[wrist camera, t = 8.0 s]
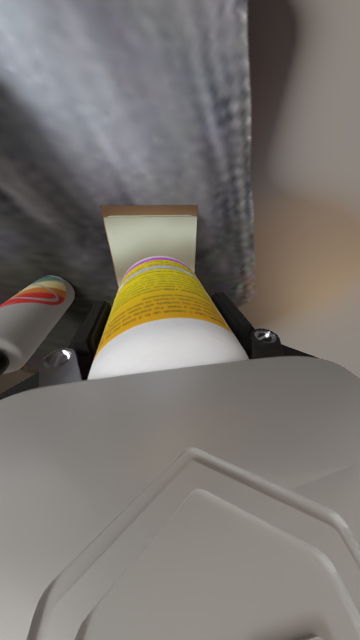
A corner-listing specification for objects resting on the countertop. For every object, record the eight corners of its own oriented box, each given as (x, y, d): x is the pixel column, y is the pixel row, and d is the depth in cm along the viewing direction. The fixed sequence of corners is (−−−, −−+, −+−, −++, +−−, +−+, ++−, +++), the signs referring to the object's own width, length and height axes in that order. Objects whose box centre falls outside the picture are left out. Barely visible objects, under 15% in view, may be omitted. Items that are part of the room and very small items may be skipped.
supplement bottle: (102, 277, 13) (-91, 576, 3) (179, 237, 12) (361, 427, 2) (147, 335, 17) (144, 550, 6) (208, 306, 16) (320, 500, 6)
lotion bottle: (44, 267, 26) (-121, 368, 10) (81, 287, 29) (-3, 394, 13) (31, 293, 28) (-124, 414, 12) (67, 310, 31) (-21, 427, 15)
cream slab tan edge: (106, 205, 23) (90, 206, 17) (191, 205, 25) (206, 205, 18) (123, 286, 30) (116, 309, 24) (188, 282, 32) (199, 302, 25)
